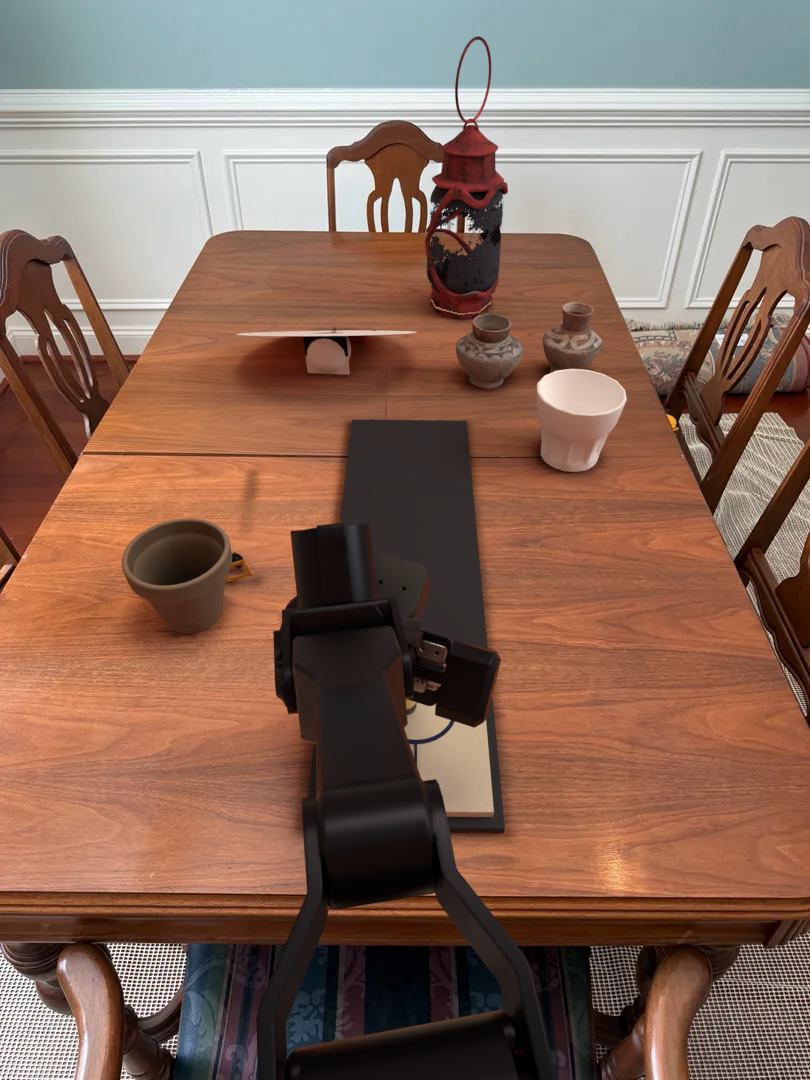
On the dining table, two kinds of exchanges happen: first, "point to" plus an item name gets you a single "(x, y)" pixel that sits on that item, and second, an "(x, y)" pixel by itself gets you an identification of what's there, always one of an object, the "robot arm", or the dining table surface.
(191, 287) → the dining table surface
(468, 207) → the lantern
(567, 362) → the pottery
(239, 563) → the golden diamond frame ornament
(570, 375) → the cup
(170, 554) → the flower pot
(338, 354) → the cake stand
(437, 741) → the long black board
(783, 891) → the dining table surface
